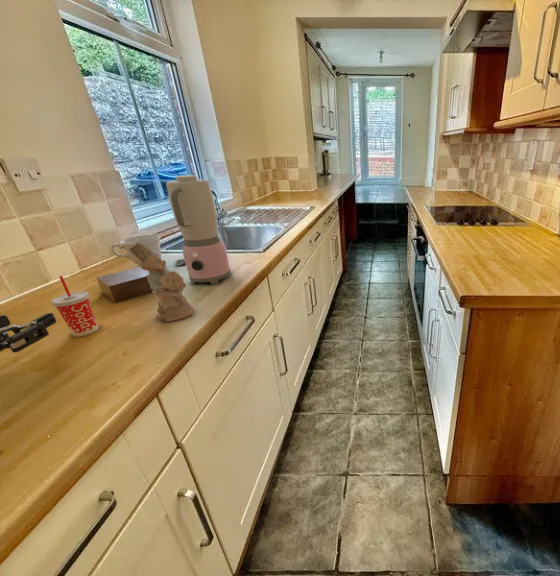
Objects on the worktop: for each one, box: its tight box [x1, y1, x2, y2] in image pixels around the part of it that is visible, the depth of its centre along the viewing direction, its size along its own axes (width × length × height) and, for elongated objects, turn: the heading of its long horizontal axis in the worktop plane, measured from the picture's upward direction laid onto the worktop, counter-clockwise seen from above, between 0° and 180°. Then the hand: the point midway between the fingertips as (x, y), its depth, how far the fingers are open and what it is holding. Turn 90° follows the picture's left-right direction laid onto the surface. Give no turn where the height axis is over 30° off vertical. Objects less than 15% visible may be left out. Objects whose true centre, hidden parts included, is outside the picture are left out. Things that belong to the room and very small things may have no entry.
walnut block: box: [96, 266, 153, 303], centre depth 95 cm, size 11×11×5 cm
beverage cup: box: [51, 275, 99, 337], centre depth 72 cm, size 6×6×14 cm
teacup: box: [109, 234, 162, 268], centre depth 113 cm, size 12×15×10 cm
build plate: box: [176, 258, 186, 267], centre depth 120 cm, size 12×7×5 cm, turn 117°
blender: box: [165, 174, 232, 286], centre depth 97 cm, size 16×12×32 cm
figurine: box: [129, 242, 194, 322], centre depth 78 cm, size 9×8×20 cm
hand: (29, 318), depth 62 cm, fingers open, 8 cm apart
